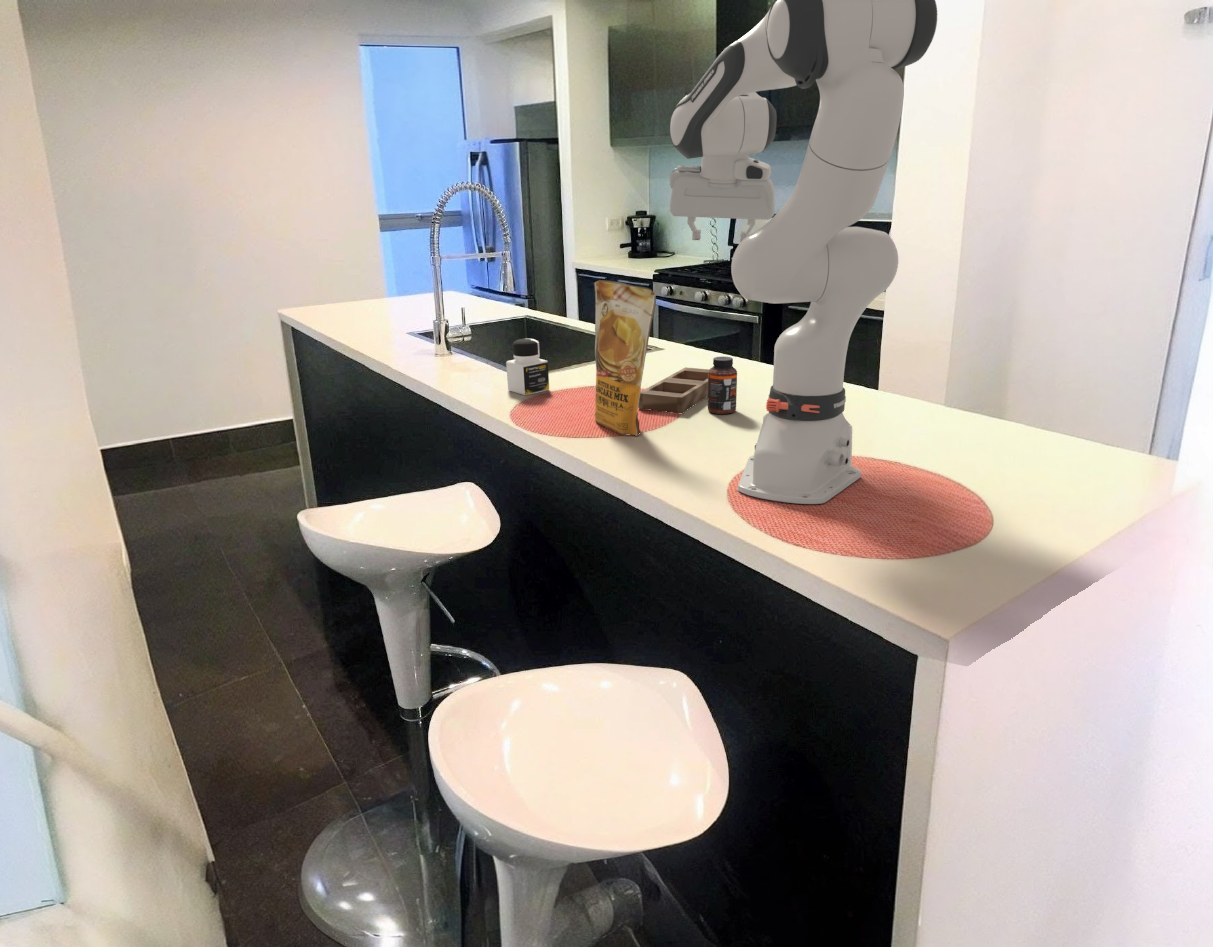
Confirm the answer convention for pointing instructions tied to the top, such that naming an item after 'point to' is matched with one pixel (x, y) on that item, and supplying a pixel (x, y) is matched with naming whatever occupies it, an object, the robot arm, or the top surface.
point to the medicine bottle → (527, 368)
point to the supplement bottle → (722, 386)
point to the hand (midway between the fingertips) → (720, 240)
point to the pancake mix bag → (620, 352)
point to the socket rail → (676, 391)
